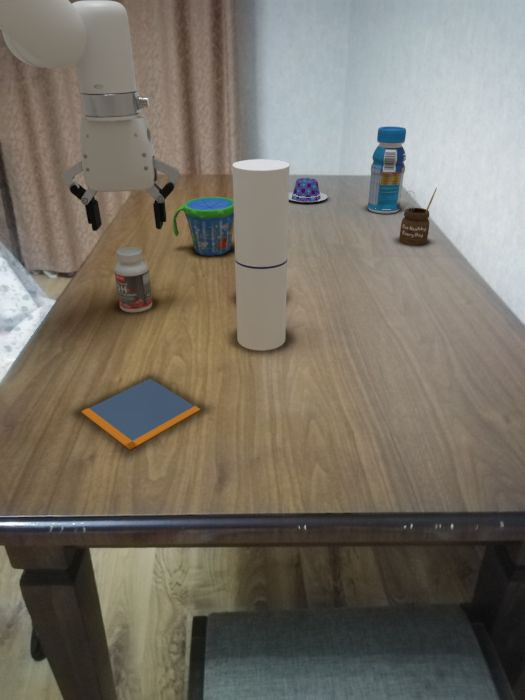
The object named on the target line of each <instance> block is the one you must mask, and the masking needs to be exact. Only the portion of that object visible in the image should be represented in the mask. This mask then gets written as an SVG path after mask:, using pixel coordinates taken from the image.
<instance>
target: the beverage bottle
mask: <svg viewBox="0 0 525 700" xmlns="http://www.w3.org/2000/svg"><path fill="white" fill-rule="evenodd" d="M376 135H377V137H376V142H377V143H378V145H377V147H376V148H375V149H374V151H373V154H372V157H371V158H372V163H371V166H370V178H369V179H370V180H369V191H368V201H367V209H368V210H369V211H370V212H372V213H376V214H383V215H384V214H395V213H398V212H399V211H400V207H401V198H402V189H403V183H404V174H405V171H406V166H405V161H406V160H407V154H406V150H405V149H404V146H403V144H405V141H406V136H407V129H406V127H402V126H379V128H378V129H377V134H376ZM368 205H369V206H370V207H369V206H368ZM375 208H376V209H375ZM396 208H397V209H396ZM382 209H391V210H382Z"/></svg>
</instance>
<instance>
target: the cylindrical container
mask: <svg viewBox="0 0 525 700" xmlns="http://www.w3.org/2000/svg"><path fill="white" fill-rule="evenodd" d="M289 193H290V163H289V162H286V161H283V160H279V159H268V158H253V159H252V158H251V159H246V160H245V159H243V160H238V161H236V162H233V163H232V196H233V198H232V200H233V202H234V221H233V232H234V233H233V234H234V238H233V239H234V265H235V266H234V268H235V269H234V270H235V271H234V272H235V303H236V304H235V306H236V307H235V308H236V309H235V310H236V337H237V338H236V340H237V343H238V344H239V345H240V346H242V347H243V348H245V349H248V350H251V351H252V350H253V351H270V350H275V349H278V348H279V347H281V346H282V345H284V343H285V342H286V335H287V333H286V331H287V295H288V294H287V293H288V292H287V290H288V288H287V287H288V253H289V251H288V250H289V249H288V248H289V247H288V245H289V206H290V204H289V203H290V202H289V201H290V200H289Z"/></svg>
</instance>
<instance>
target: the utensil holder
mask: <svg viewBox="0 0 525 700" xmlns="http://www.w3.org/2000/svg"><path fill="white" fill-rule="evenodd" d="M437 189H438V187H437V186H436V187H435V189H434V192H433V194H432V196H431V198H430V200H429V203H428V205H427V207H426V208H422V207H416V202H413V206H412V207H408V206H409V204H408V203H406V204H404V205H405V207H406V209H405V210H404V211H403V212H404V213H403V216H404V217H403V218H402V220H401V223H400V229H399V230H400V231H399V242H400V243H401V244H403V245H406V246H411V247H420V246H424V245H426V243H427V241H428V237H429V230H430V220H429V217H430V211H429V208H430V207H431V204H432V202H433V200H434V197H435V195H436V192H437ZM408 192H409V194H408ZM407 194H408V198H409V200H408V201H411V196H412V198H413V199H416V197H417V196H416V194H415V191H412V192H411V190H408V191H406V192H405V193H404V195H407ZM412 194H414V195H412Z"/></svg>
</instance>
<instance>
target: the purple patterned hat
mask: <svg viewBox="0 0 525 700" xmlns="http://www.w3.org/2000/svg"><path fill="white" fill-rule="evenodd" d="M293 194H296V195H298V196H305V197H311V196H317V195H318V194H320V196H318V197H315V198H313V197H312V198H299V197H296V196H293ZM326 199H328V195H327V194H325V193H322V192H321V191H320V187H319V182H318V180H317V179H315V178H312V177H301V178H298V179H296V181H295V183H294V187H293V191H289V201H293V202H296V203H306V204H307V203H316V202H322V201H324V200H325V201H326Z"/></svg>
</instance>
